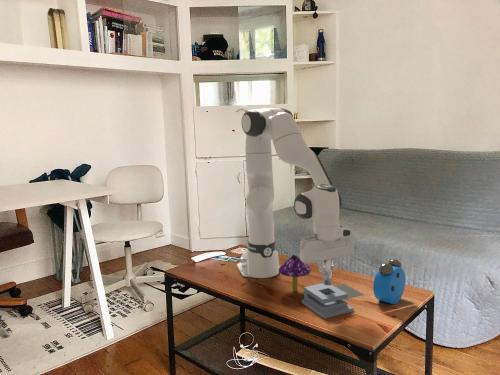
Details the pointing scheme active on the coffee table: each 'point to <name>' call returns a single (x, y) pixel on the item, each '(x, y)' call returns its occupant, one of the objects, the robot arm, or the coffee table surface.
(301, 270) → the decorative mushroom
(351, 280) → the coffee table surface
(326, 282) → the steel pin
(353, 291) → the rubber mat
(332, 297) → the grey block with hole
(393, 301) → the alarm clock
